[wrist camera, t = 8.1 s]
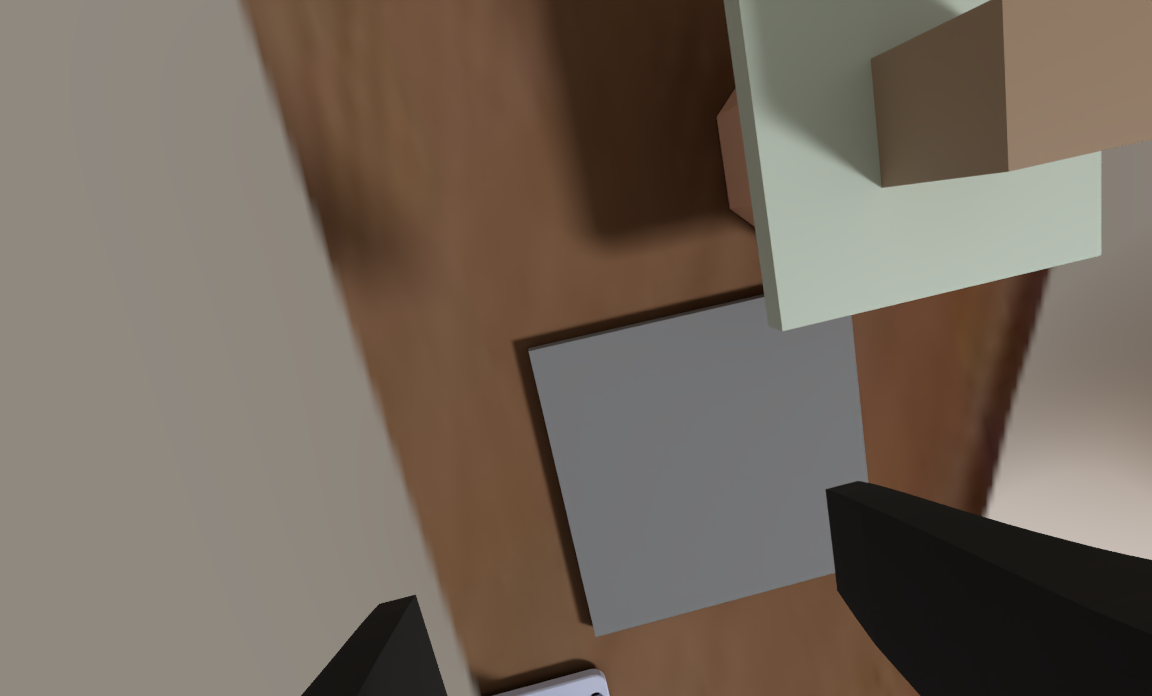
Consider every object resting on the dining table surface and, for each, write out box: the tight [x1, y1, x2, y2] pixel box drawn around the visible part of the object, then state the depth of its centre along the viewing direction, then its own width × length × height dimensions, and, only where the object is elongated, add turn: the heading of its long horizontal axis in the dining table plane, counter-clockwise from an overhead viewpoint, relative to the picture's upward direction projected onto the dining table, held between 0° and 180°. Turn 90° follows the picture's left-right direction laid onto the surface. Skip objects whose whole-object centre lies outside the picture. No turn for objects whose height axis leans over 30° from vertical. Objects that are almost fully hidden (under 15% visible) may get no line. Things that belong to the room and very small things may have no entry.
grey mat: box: [528, 294, 868, 637], centre depth 20 cm, size 11×11×1 cm
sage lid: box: [724, 0, 1152, 331], centre depth 12 cm, size 9×9×4 cm
